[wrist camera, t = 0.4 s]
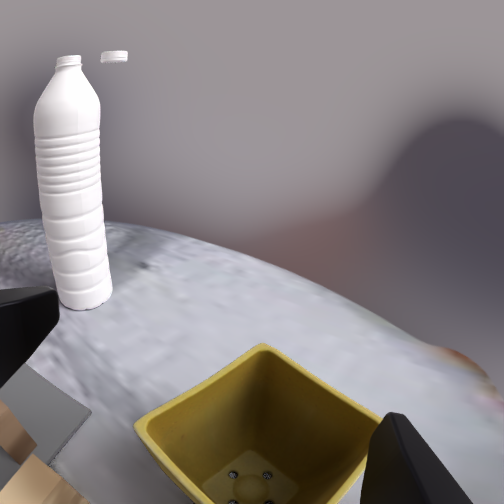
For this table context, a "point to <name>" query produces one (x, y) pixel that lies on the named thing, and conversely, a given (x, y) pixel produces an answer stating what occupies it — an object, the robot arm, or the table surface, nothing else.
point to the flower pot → (260, 435)
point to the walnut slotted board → (14, 436)
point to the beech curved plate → (39, 486)
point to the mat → (39, 417)
